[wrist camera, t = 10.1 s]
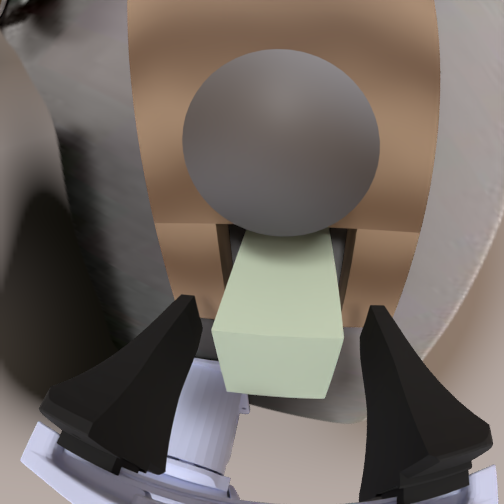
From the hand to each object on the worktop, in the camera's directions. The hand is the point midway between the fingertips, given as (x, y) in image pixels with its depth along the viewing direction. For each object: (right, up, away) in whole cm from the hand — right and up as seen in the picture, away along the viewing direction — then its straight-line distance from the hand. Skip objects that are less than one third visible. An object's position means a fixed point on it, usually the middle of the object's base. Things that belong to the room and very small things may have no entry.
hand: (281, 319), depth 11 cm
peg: (+1, +2, +4) cm, 4 cm away
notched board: (0, +8, 0) cm, 8 cm away
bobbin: (0, +7, -2) cm, 7 cm away
